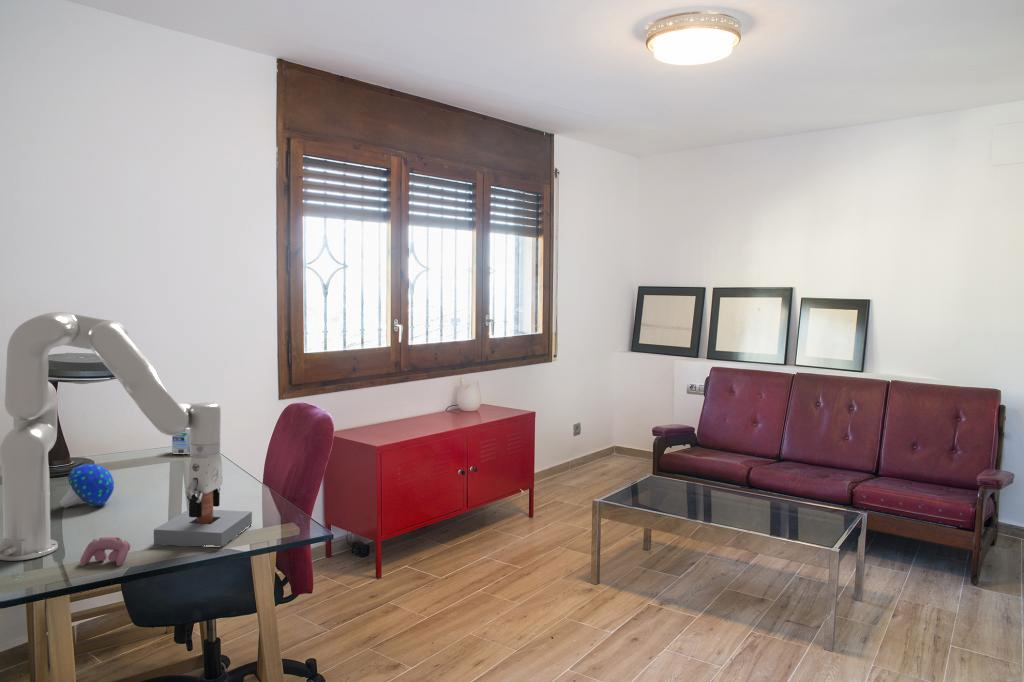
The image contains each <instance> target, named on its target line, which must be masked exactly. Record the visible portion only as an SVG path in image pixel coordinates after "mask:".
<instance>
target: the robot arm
mask: <svg viewBox="0 0 1024 682" xmlns="http://www.w3.org/2000/svg"><path fill="white" fill-rule="evenodd" d="M62 346H67V347H74V348H78V349H83V350H84V349H86V350H91V351H92V352H93V353H94V355H95V356H96V357H97V358H98V360H100V361H101V363H103V365H104V366H105V367H106V368H107V369H108V371H109V372H111V374H112V375H113V376H114V377H115V378H116V380H117V381H118V382H119V383H120V384H121V385H122V387H123V388H124V390H125V391H126V393H127V394H128V395H129V397H130V398H131V399H132V400H133V401H134V403H135V404H136V406H137V407H138V408H139V409H140V411H141V412H142V413H143V415H145V417H146V418H147V419H148V420H149V421H150V423H151V424H152V425H153V426H154V427H155V428H156V429H157V430H158V431H159V432H160V433H161V434H163V435H165V436H169V437H172V436H175V435H178V434H181V433H182V432H183V431H184V430H185V429H186V428H190V455H189V456H190V461H189V471H188V486H187V488H185V493H186V498H187V503H188V510H189V517H197V518H200V517H201V516H202V502H200V501H201V498H202V495H203V493H204V494H208V493H210V492H212V491H213V507H216V508H217V507H219V506H221V505H220V500H221V499H220V498H221V497H220V494H221V493H220V492H221V486H222V485H223V461H222V455H221V416H222V415H221V413H222V411H221V406H220V404H218V403H215V402H198V403H193V402H192V403H191V402H183V401H182V402H181V401H176V400H175V399H174V398H173V397H172V396H171V394H170V393H169V392H168V391H167V389H166V388H165V387H164V385H163V383H162V382H161V380H160V378H159V376H158V372H157V371H156V368H155V367H154V365H153V364H152V363H151V362H150V361H149V359H148V358H147V357H146V356H145V354H144V353H143V352H142V351H141V350H140V349H139V348H138V346H137V345H136V344H135V343H134V341H133V340H132V339H131V338H130V337H129V332H128V330H127V328H126V327H125V326H124V325H123V324H122V323H120V322H118V321H114V320H110V319H104V318H103V319H102V318H97V317H92V316H87V315H82V314H81V315H80V314H75V313H71V312H70V313H69V312H63V311H56V312H48V313H44V314H39V315H37V316H34V317H32V318H30V319H28V320H26V321H24V322H23V323H21V324H20V325H18V327H16V328H15V330H14V331H13V332H12V334H11V336H10V337H9V340H8V343H7V348H6V370H5V389H4V391H5V394H4V407H5V410H6V412H7V413H8V415H9V416H10V417H11V418H13V428H12V429H11V430H10V431H9V432H7V433H6V435H5V436H4V437H3V439H2V441H1V442H0V466H1V478H2V479H1V480H2V524H3V525H2V526H3V529H2V533H3V539H1V540H0V561H1V560H2V561H9V562H10V561H11V562H12V561H14V562H15V561H17V562H18V561H25V560H31V559H36V558H40V557H43V556H47V555H49V554H51V553H53V552H56V550H57V549H58V547H59V545H58V544H59V542H58V541H57V540H55V539H51V486H50V485H51V484H50V483H51V482H50V481H51V479H50V478H51V477H50V475H51V474H50V467H49V452H50V451H51V450H52V449H53V448H54V446H55V444H56V441H57V437H58V412H59V411H58V410H59V409H58V407H59V406H58V405H59V404H58V403H59V401H58V400H59V398H58V392H57V390H56V388H55V386H54V385H53V383H51V382H50V381H49V367H50V365H49V364H50V363H49V353H50V352H51V350H52V349H53V348H58V347H62ZM199 490H200V491H199ZM197 494H198V497H197Z"/></svg>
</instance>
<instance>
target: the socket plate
mask: <svg viewBox="0 0 1024 682" xmlns="http://www.w3.org/2000/svg"><path fill="white" fill-rule="evenodd" d="M251 524H252V525H253V511H245V510H225V509H224V510H223V509H213V523H212V524H197V517H189V509H187V510H186V511H183V512H182V513H180V514H179V515H177V516H175V517H173V518H171V519H170V520H168V521H166V522H165V523H162V524H161V525H159V526H158V527H156V528H154V529H153V545H154V544H165V545H164V546H169V545H177V546H176V547H189V546H204V545H205V546H206V545H214V546H220V547H222V546H224V545H225V544H226V543H228V542H229V541H230V540H232V539H233V538H234V537H235V536H236V535H238V534H239V533H240V532H241V531H243V530H244V529H245V528H246V527H248V526H249V525H251ZM238 536H239V535H238ZM234 539H235V538H234ZM234 539H233V540H234ZM233 540H232V541H233ZM230 542H231V541H230ZM230 542H229V543H230ZM229 543H228V544H229ZM226 545H227V544H226ZM226 545H225V546H226ZM225 546H224V547H225ZM222 548H223V547H222Z"/></svg>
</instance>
